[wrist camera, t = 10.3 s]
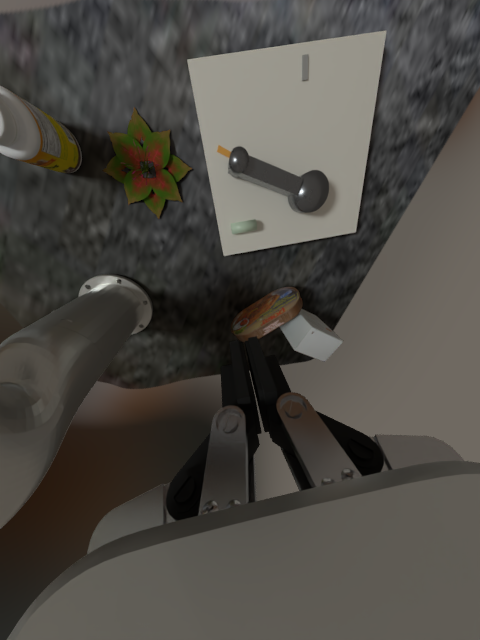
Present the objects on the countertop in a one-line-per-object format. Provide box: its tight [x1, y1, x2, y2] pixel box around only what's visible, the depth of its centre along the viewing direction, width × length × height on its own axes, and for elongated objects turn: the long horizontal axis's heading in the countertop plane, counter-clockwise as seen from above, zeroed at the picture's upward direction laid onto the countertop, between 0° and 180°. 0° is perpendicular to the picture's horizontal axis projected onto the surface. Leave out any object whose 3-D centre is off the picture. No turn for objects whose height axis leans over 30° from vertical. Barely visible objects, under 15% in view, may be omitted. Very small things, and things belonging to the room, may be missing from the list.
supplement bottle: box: [0, 86, 82, 173], centre depth 20 cm, size 6×6×10 cm
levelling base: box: [187, 31, 386, 256], centre depth 27 cm, size 24×22×4 cm
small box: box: [280, 309, 343, 362], centre depth 38 cm, size 8×6×10 cm
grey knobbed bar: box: [228, 146, 329, 213], centre depth 26 cm, size 15×5×4 cm, turn 74°
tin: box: [231, 287, 303, 342], centre depth 36 cm, size 15×3×8 cm, turn 122°
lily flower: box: [102, 107, 192, 219], centre depth 25 cm, size 12×12×5 cm
